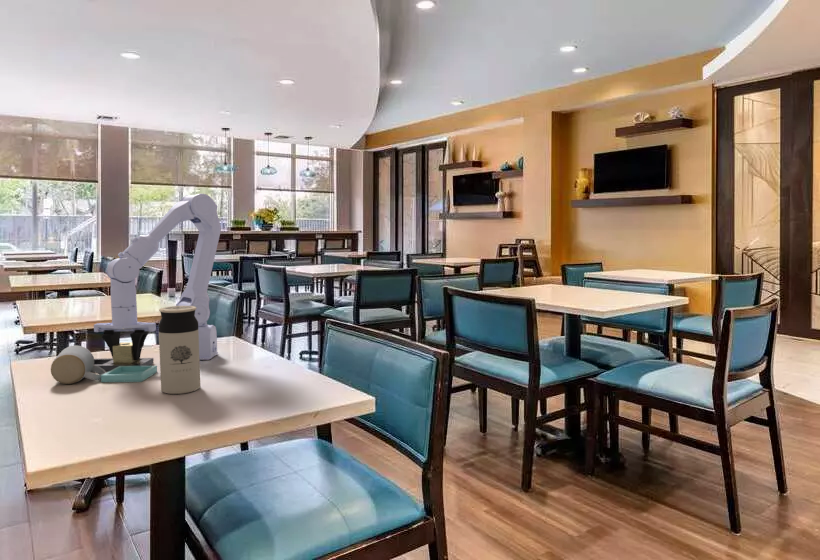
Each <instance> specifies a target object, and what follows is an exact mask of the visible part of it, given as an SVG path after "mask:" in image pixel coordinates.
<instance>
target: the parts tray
mask: <svg viewBox="0 0 820 560" xmlns="http://www.w3.org/2000/svg"><path fill="white" fill-rule="evenodd" d="M157 373H158V365H150V366H119V367H117V368H115V369H113V370H111V371H109V372H106V373H105V374H103V375H101V380H100V382H101V383H142V382H144V381H146V379H149V377H152V376H154V375H155V374H157Z"/></svg>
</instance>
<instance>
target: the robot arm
mask: <svg viewBox="0 0 820 560" xmlns="http://www.w3.org/2000/svg"><path fill="white" fill-rule="evenodd" d="M218 215H219V214H218V205H217V203H216V202H215V201H214V199H213V198H212V197H211V196H210V195H208V194H206V193H198V194H188V195H187V194H186V195H183V196H182V198H180V199H179V201H177V202H176V203H174V204H173V205H172V207H170V209H169V210H168V211H167V212H166V213H165V214H164V215H163V217H162V218H161V219H160V220H159V221H158V222H157V223H156V224H155V226H154V227H152V229H151V230H150V231H149V232H148V233H147V234H140V235H138V236H134V237H132V238H131V239H130V241H131V243H130V244H129V245H128V247H127V248H125V249H124V250H123V251H120V252H119V253H118V254H117V256H118V257H119V258H115V259H112V260H111V261H110V262H109V263H108V265H107V269H105V273H106V275H107V277H108V278H109V279H110V282H109V283H110V305H111V322H100V323H99V322H97V323H95V324H93V333H100V332H103V333H102V334H101V337H102V339H103V340H104V342H105V344H106V345H107V347H108V349H109V353H110V354H111V357H112V358H113V346H114V345H116V344H119V343H121V342H120V339H121V332H131V333H130V334H129V336H130V340H131V342H132V345H133V358H134V360H139V359H140V358H141V354H142V349H143V346H144V343H145V341H146V339H147V337H148V335H149V333H150V332H155V331H156V330H157V323H156V322H144V321H143V322H142V321H138V305H137V289H136V278H138V276H139V274H140V269H142V268H143V267H144V265H146V263H148V262H149V260H150V259H151V258H152V257H153V256H154V255H155V254H156V253H157V252H159V243H160V242H161V241H162V240H163V239H164V238H165V237H166V236H167V235H168V234H169V233H170V232H172V231H173V230H174V229H175V228H176V226H178V225H179V224H180V223H183V222H185V221H186V222H187V221H190V222H192V223H193V225H194V226H195V228H196V229H197V231H198V237H197V242H196V246H195V250H194V253H193V260H192V263H191V267H190V271H189V276H188V281H187V285H186V288H185V289H183V291H182V293H181V295H180V299H179V301H177V303H176V305H175V306H195V307H196V310H195V315H194V316H195V318H196V319H197V321H198V332H199V360H200V361H202V360H203V361H205V360H207V361H209V360H212V358H214V357H215V356H216V355H218V354H219V352H218V337H217V336H218V334H217V327H216V326H215V325H214V324H208V321H209V319H210V315H211V310H210V300H211V299H210V297H209V293H208V288H209V286H210V285H209V284H210V279H211V275H212V271H213V267H214V263H215V262H214V261H215V258H216V253H217V249H218V246H219V245H218V244H219V240H220V237H221V236H220V235H221V230H222V226H221V222H220V218H219V216H218Z"/></svg>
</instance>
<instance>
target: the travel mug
mask: <svg viewBox="0 0 820 560" xmlns="http://www.w3.org/2000/svg"><path fill="white" fill-rule="evenodd" d="M195 310H196V307H195V306H176V305H174V306H173V305H171V306H165V307H161V308H159V309H158V311H159V312H160V315H161V318H160V321H159V323H158V347H159V367H160V368H159V369H160V370H159V372H160V391H161V392H162V393H165V394H168V395H185V394H189V393H193V392H195V391H197V390H198V389H200V388H201V369H200V367H201V366H200V365H201V362H200V361H201V360H199V332H198V321H197V319H196V318H195V316H194V315H195Z"/></svg>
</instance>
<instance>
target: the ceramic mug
mask: <svg viewBox="0 0 820 560" xmlns="http://www.w3.org/2000/svg"><path fill="white" fill-rule="evenodd" d="M94 359H95V358H94V355H93V353H92V352H91V351H90V349H88V348H86V347H85V346H83V345H82V346H81V345H69V346H67V347H66V348H64V349H62V350H61V352H59V354H58V355H57V356H56V357H55V358H54V359H53V361H52V363H51V365H50V374H51V377H52V378H53V379H54V380H55V381H56V382H57V383H60V384H63V385H72V384H76V383H78V382H80V381H82V380H83V379H84V378H85V379H88V380H91V381H101V375H103V374H105V373H107V372H106V371H105V370H104V369H102V368H100V367H99V366H96V365H94ZM90 371H93V372H90Z"/></svg>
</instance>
